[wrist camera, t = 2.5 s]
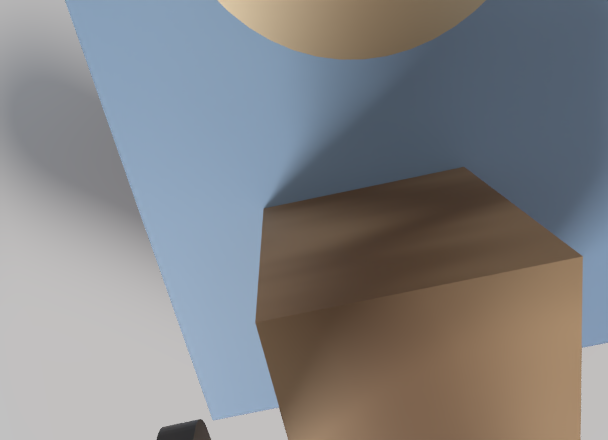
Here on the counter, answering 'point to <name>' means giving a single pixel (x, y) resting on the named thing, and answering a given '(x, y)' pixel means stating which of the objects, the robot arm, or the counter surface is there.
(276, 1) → the maple cylinder
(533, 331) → the walnut cube
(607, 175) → the board
